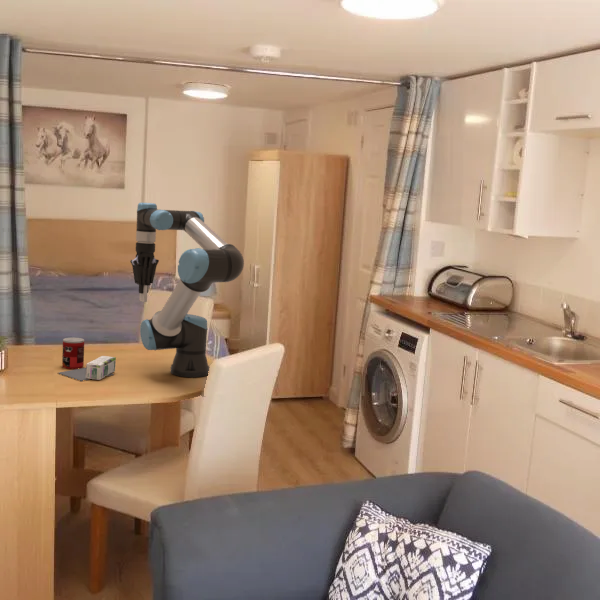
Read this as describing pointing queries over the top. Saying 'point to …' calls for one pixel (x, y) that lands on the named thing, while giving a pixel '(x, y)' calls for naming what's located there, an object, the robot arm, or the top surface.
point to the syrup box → (100, 367)
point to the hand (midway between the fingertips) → (143, 301)
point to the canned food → (73, 353)
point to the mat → (78, 374)
